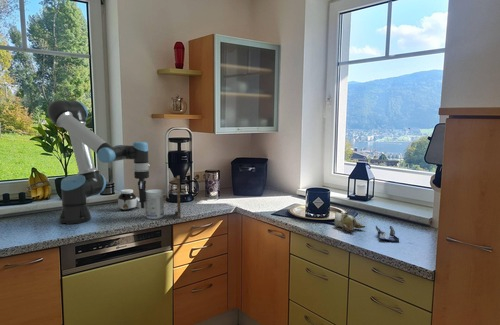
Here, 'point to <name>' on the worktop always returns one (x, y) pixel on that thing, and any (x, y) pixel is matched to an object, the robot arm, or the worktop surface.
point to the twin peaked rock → (391, 237)
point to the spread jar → (128, 200)
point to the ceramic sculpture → (346, 221)
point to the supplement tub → (154, 204)
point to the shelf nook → (177, 180)
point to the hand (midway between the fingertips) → (143, 213)
